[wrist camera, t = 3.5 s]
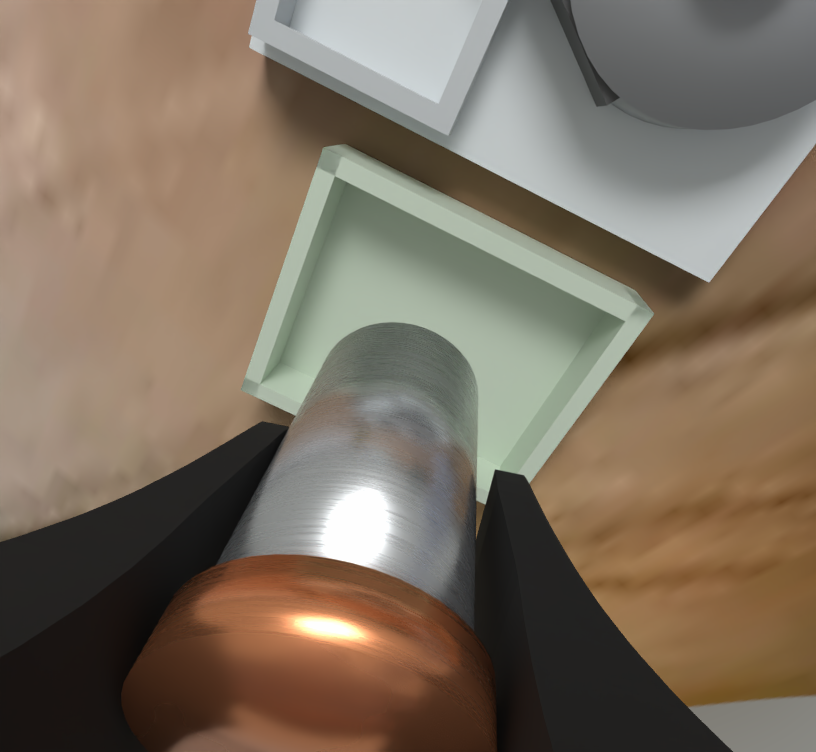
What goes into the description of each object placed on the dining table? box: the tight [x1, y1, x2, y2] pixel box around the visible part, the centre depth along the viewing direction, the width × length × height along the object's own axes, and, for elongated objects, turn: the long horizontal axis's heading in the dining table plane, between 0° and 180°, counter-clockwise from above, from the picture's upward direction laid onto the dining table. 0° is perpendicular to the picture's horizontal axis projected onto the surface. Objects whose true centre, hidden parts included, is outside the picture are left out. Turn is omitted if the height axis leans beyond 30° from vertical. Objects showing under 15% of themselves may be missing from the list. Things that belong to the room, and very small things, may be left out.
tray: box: [241, 144, 654, 505], centre depth 19 cm, size 11×9×2 cm
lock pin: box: [121, 322, 497, 752], centre depth 10 cm, size 5×5×8 cm
